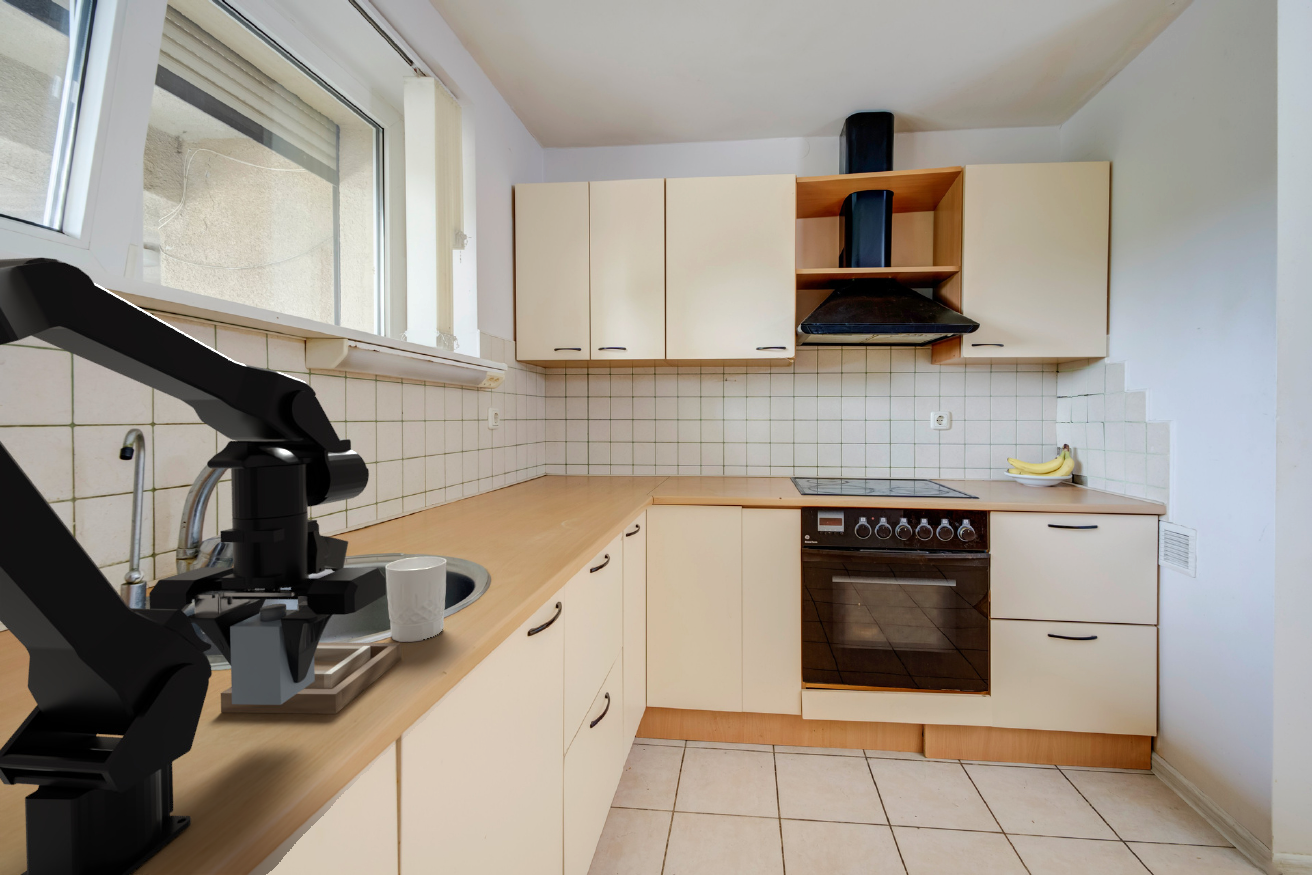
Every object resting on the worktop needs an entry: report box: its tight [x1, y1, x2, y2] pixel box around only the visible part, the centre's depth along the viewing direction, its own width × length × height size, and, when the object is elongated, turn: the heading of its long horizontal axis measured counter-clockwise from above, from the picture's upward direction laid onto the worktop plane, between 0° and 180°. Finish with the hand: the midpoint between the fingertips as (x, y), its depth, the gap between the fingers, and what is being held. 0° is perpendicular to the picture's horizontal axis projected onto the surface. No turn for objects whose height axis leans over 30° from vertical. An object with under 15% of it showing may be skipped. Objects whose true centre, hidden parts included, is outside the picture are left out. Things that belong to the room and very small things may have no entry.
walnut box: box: [220, 641, 402, 715], centre depth 61 cm, size 13×12×2 cm
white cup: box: [385, 556, 448, 643], centre depth 76 cm, size 8×8×10 cm
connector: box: [230, 603, 315, 705], centre depth 50 cm, size 4×4×8 cm
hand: (274, 680), depth 50 cm, fingers closed on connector, 4 cm apart
